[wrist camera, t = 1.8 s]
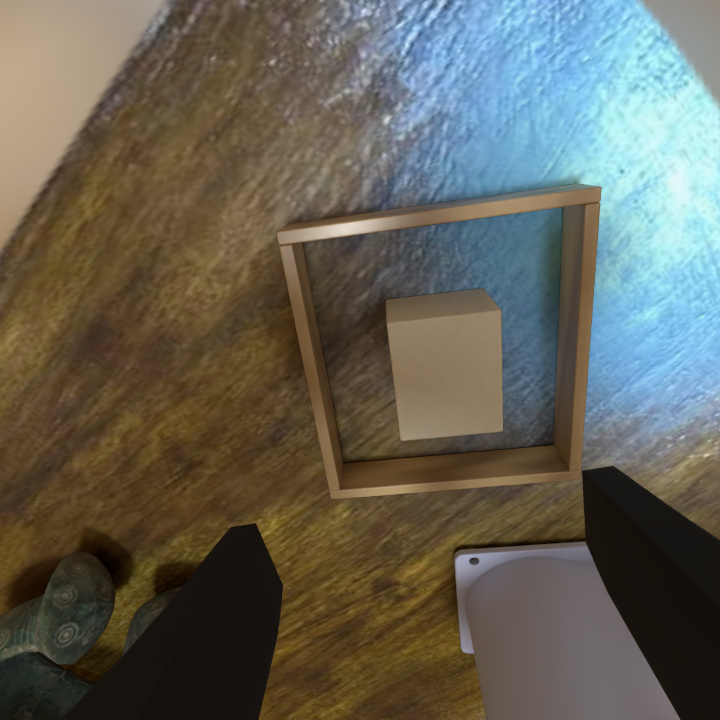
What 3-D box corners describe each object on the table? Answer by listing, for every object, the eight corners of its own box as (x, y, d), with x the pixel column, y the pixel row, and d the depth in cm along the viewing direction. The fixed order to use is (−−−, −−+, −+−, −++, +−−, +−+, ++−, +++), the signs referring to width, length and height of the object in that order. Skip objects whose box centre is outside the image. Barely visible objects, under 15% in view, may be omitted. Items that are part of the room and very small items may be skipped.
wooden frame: (577, 183, 16) (602, 186, 15) (563, 452, 21) (580, 479, 19) (286, 224, 18) (275, 231, 16) (335, 472, 22) (331, 499, 20)
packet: (483, 287, 18) (501, 310, 15) (486, 395, 20) (503, 432, 17) (385, 299, 19) (386, 323, 16) (398, 404, 21) (400, 441, 18)
